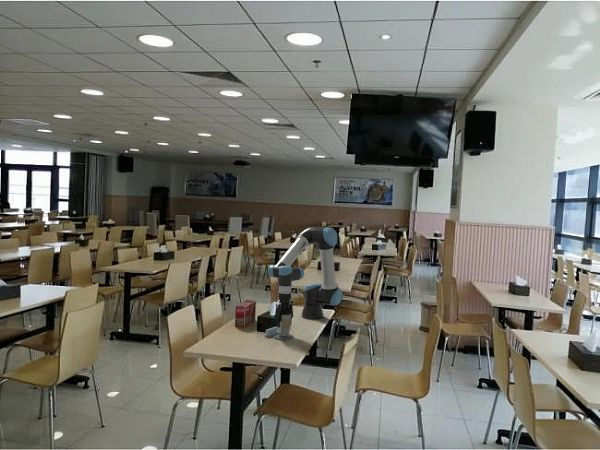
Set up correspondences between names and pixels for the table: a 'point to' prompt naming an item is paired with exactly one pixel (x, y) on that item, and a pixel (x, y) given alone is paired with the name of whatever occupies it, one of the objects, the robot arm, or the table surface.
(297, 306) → the table surface
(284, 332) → the coffee cup
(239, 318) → the ice cream box
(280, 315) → the robot arm
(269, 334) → the grey bar handle
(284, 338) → the coaster
